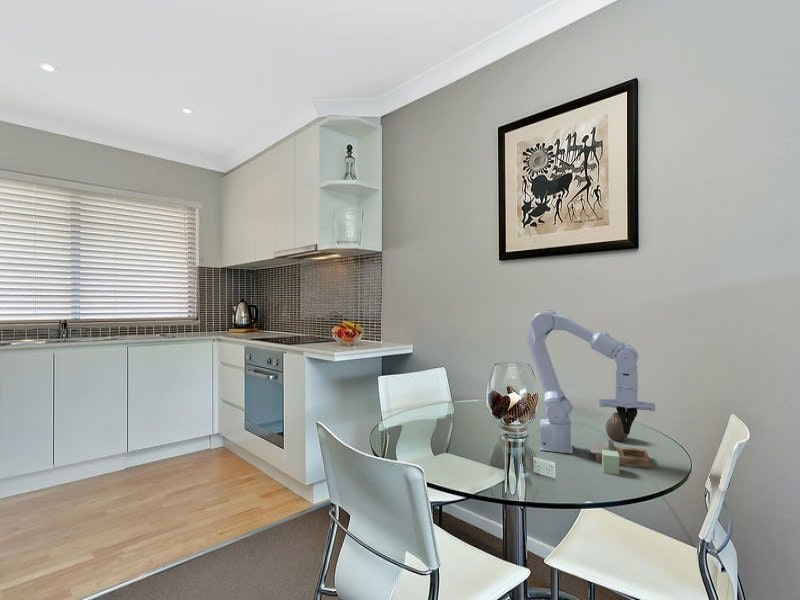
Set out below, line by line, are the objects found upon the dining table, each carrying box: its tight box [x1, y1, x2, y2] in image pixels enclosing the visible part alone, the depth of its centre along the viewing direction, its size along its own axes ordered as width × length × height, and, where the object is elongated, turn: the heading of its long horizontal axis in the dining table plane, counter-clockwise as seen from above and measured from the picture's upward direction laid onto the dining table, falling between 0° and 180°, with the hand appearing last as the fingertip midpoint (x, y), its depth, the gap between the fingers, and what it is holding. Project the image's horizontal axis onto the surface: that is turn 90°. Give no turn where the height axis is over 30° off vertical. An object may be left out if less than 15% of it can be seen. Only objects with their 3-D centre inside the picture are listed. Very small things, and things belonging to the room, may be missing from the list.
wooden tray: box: [594, 445, 652, 470], centre depth 130 cm, size 14×9×2 cm, turn 68°
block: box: [601, 450, 620, 475], centre depth 122 cm, size 4×4×5 cm
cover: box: [589, 439, 615, 454], centre depth 132 cm, size 6×8×2 cm
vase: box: [605, 411, 629, 442], centre depth 147 cm, size 7×7×9 cm
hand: (626, 432), depth 129 cm, fingers closed
